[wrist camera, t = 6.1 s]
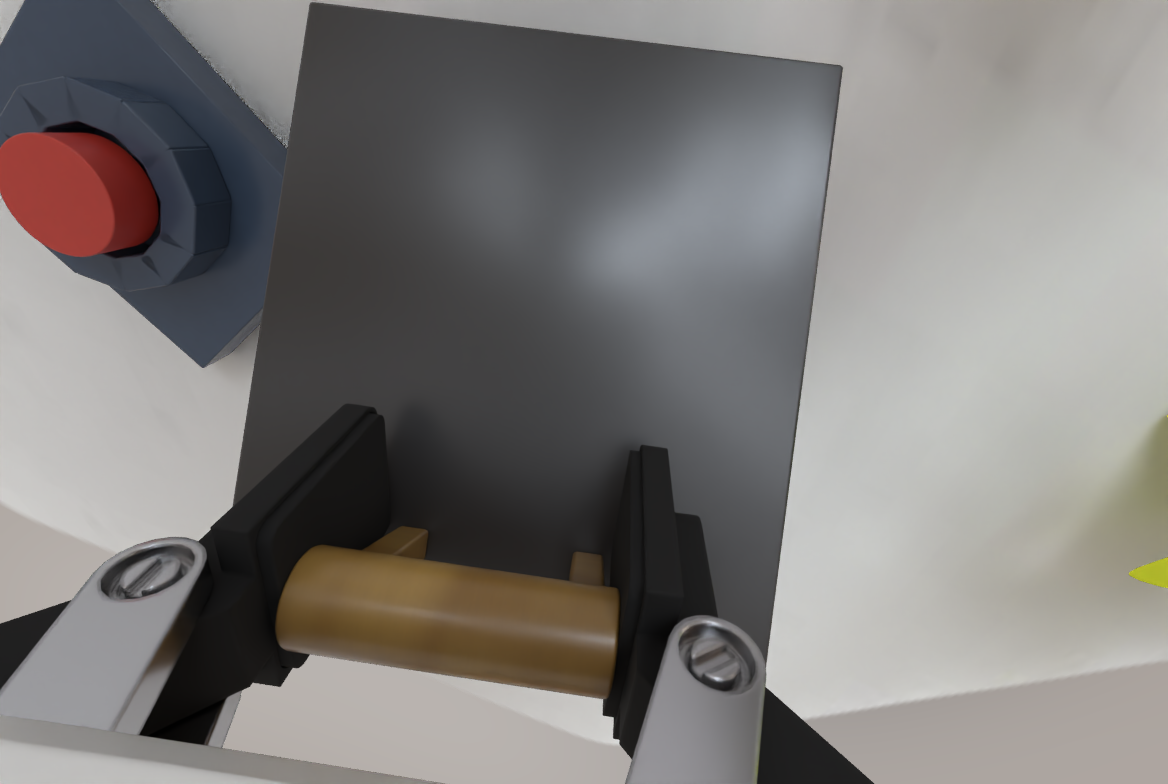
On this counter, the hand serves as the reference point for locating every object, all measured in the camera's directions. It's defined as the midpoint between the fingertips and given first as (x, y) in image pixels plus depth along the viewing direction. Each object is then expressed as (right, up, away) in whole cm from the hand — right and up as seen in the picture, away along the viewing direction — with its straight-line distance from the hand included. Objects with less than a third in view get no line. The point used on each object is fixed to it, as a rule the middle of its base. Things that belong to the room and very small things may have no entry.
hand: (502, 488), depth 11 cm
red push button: (-14, +9, +7) cm, 18 cm away
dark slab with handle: (+1, +3, +2) cm, 4 cm away
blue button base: (-14, +10, +9) cm, 20 cm away
